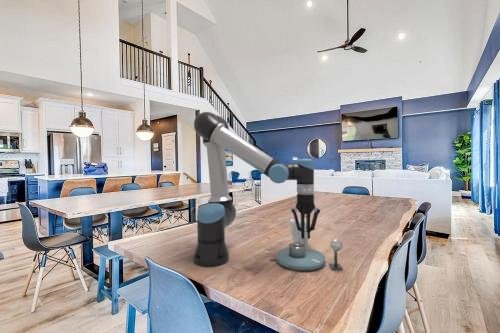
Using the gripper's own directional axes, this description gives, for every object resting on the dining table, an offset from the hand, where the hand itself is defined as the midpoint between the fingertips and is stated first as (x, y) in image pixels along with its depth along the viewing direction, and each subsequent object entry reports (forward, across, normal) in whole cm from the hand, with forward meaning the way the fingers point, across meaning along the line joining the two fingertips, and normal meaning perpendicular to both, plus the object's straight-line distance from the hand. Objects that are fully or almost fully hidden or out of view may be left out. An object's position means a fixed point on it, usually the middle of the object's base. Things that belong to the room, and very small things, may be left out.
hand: (305, 245), depth 116 cm
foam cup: (+5, -1, +12) cm, 13 cm away
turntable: (+4, -4, -7) cm, 9 cm away
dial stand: (+5, +9, -13) cm, 17 cm away
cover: (+2, -5, -7) cm, 9 cm away
